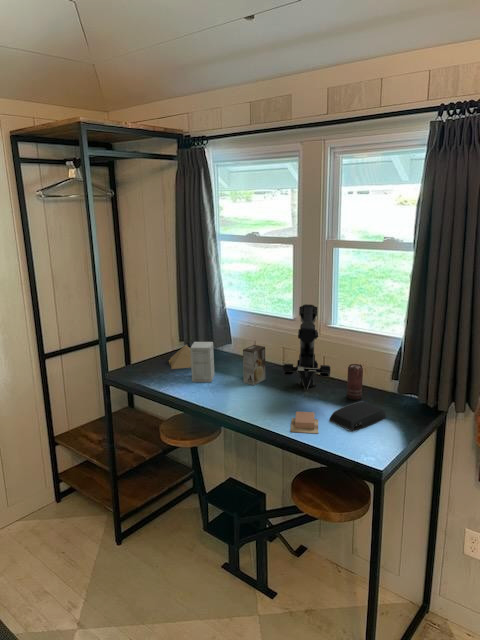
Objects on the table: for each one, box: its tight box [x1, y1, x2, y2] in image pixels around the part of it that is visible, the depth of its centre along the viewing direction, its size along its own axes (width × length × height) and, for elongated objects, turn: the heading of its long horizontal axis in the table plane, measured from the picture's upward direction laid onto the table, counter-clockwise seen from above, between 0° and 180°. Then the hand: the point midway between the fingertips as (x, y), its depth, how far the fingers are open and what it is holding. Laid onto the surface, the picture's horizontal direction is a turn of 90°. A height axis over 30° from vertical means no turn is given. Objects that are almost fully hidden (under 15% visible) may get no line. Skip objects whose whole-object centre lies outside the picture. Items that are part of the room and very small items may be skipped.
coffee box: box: [242, 344, 266, 386], centre depth 225 cm, size 9×6×16 cm
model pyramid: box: [168, 344, 191, 370], centre depth 252 cm, size 17×17×10 cm
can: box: [346, 363, 364, 401], centre depth 206 cm, size 6×6×14 cm
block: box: [295, 411, 316, 429], centre depth 185 cm, size 2×7×9 cm
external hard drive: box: [328, 400, 387, 432], centre depth 188 cm, size 13×19×4 cm
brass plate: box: [290, 417, 319, 434], centre depth 184 cm, size 11×10×1 cm
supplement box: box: [189, 341, 215, 383], centre depth 229 cm, size 10×9×17 cm
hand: (306, 390), depth 195 cm, fingers closed
